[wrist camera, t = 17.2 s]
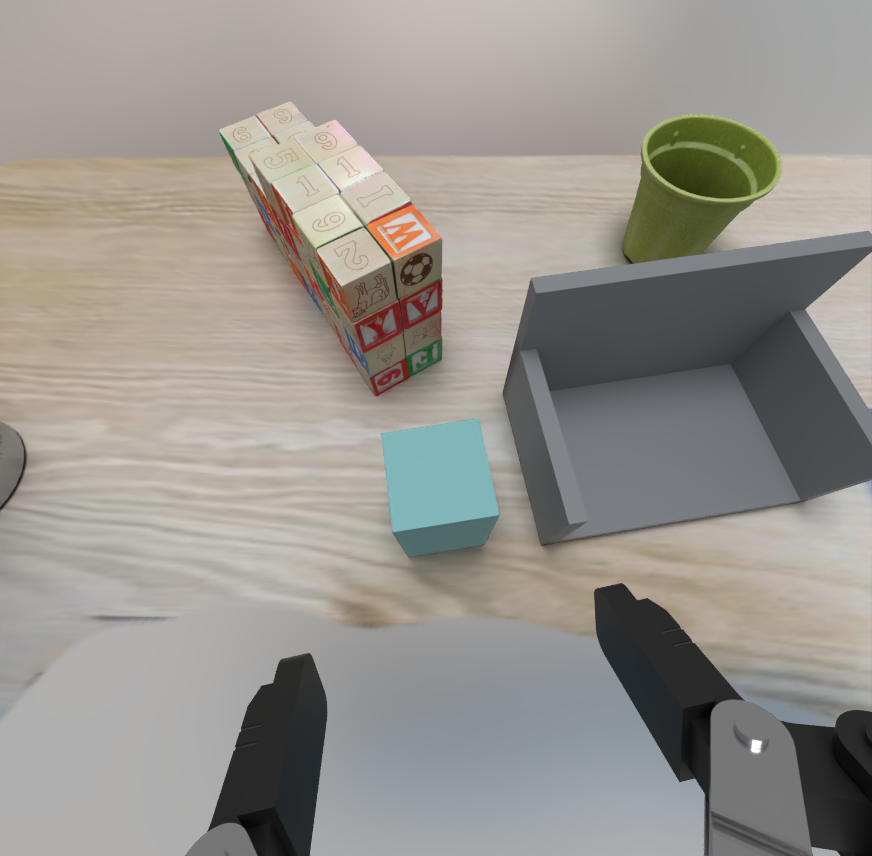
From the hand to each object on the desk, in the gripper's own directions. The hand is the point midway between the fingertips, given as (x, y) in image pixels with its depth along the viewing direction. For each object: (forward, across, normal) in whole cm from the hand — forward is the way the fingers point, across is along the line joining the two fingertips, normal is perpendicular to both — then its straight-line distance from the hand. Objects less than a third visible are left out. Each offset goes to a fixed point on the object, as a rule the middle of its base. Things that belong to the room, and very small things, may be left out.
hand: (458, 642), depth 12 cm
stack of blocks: (+31, +3, -9) cm, 32 cm away
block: (+16, -1, +6) cm, 17 cm away
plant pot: (+29, -24, -8) cm, 39 cm away
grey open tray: (+17, -16, +4) cm, 24 cm away
